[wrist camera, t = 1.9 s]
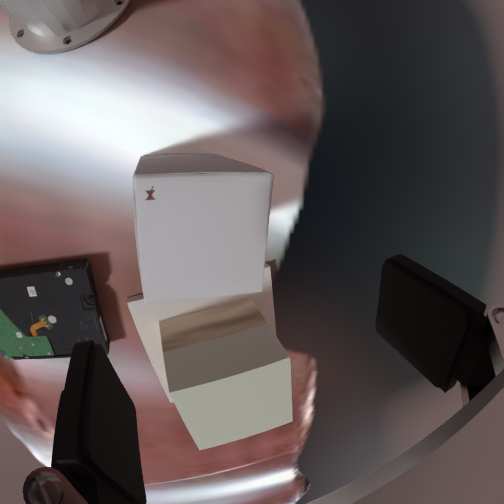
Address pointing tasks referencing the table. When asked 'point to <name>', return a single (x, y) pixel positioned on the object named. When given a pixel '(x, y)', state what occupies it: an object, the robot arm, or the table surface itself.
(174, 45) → the table surface
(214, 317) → the lower block
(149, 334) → the base board
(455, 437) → the robot arm
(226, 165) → the supplement box
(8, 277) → the disk drive
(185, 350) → the upper block
